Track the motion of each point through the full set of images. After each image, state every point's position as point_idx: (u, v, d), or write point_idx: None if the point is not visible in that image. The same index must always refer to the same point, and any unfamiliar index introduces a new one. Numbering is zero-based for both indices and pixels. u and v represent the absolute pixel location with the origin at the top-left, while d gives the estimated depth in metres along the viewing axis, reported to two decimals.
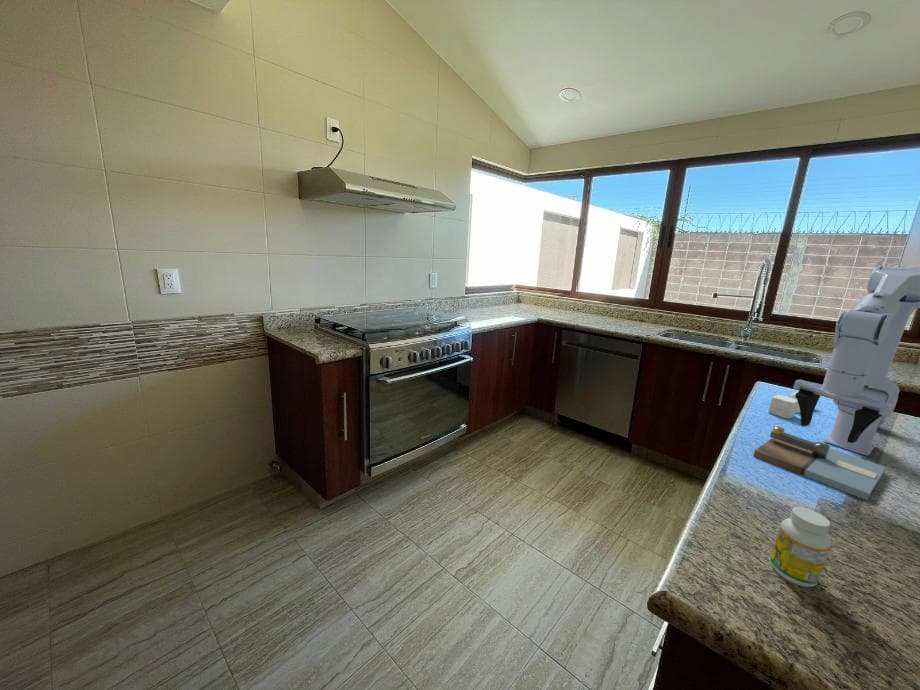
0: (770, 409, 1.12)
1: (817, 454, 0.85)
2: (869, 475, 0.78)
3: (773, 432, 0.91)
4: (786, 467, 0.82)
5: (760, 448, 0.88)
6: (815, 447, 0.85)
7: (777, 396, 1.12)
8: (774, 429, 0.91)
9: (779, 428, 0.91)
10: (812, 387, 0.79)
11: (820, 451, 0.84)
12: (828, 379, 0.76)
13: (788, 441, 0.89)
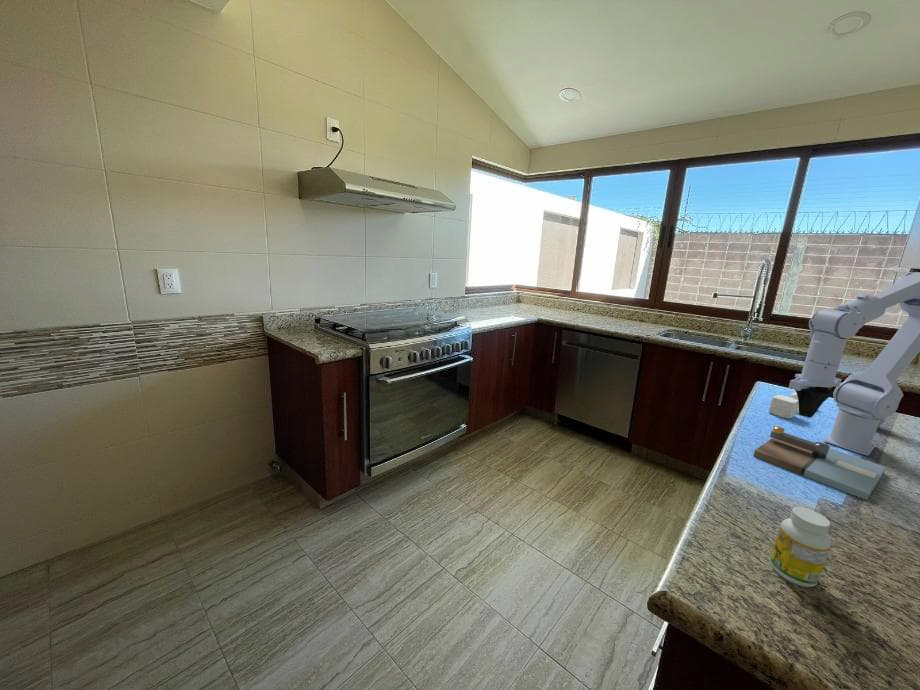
0: (770, 409, 1.12)
1: (817, 454, 0.85)
2: (869, 475, 0.78)
3: (773, 432, 0.91)
4: (786, 467, 0.82)
5: (760, 448, 0.88)
6: (815, 447, 0.85)
7: (777, 396, 1.12)
8: (774, 429, 0.91)
9: (779, 428, 0.91)
10: None
11: (820, 451, 0.84)
12: None
13: (788, 441, 0.89)
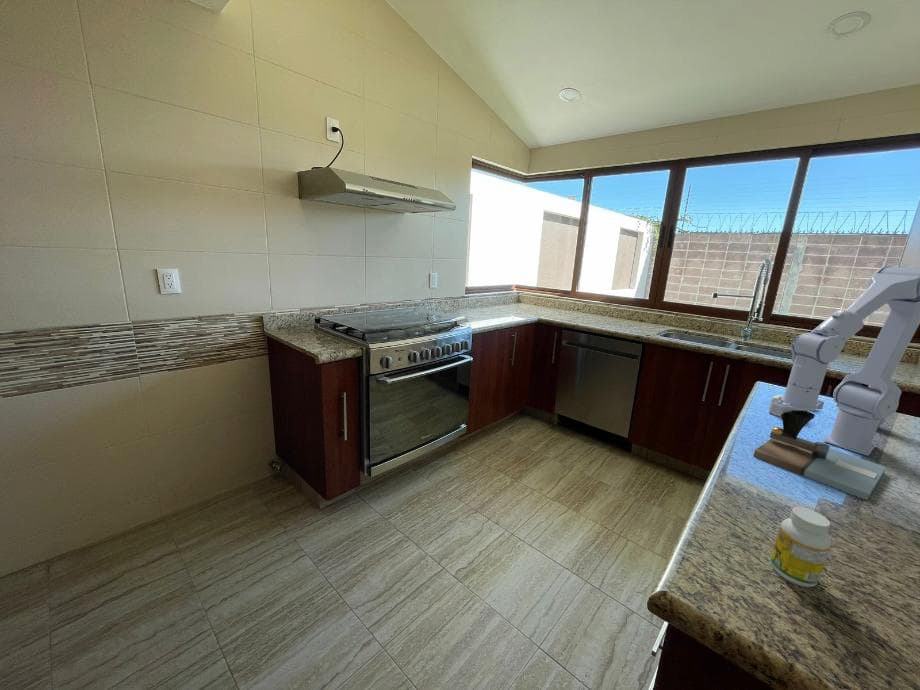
0: (770, 409, 1.12)
1: (817, 454, 0.84)
2: (869, 475, 0.78)
3: (772, 433, 0.91)
4: (786, 467, 0.82)
5: (760, 448, 0.88)
6: (815, 447, 0.85)
7: (777, 396, 1.12)
8: (774, 430, 0.91)
9: (778, 428, 0.90)
10: None
11: (820, 451, 0.84)
12: None
13: (788, 441, 0.89)
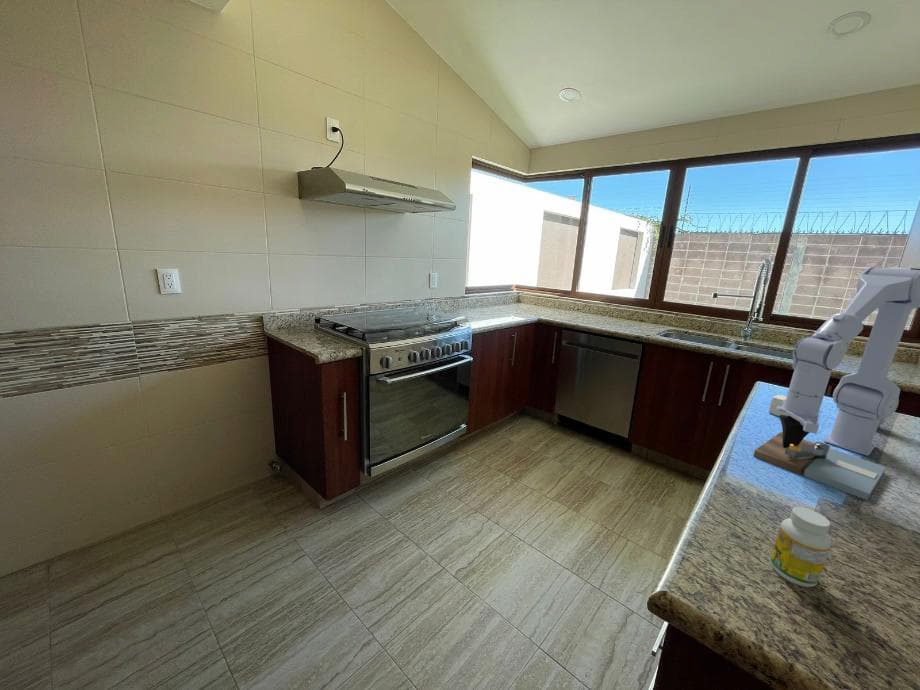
0: (770, 409, 1.12)
1: (825, 456, 0.84)
2: (869, 475, 0.78)
3: (797, 453, 0.82)
4: (786, 467, 0.82)
5: (760, 448, 0.88)
6: (822, 450, 0.84)
7: (777, 396, 1.12)
8: (797, 449, 0.82)
9: (796, 445, 0.83)
10: (783, 404, 0.87)
11: (827, 452, 0.84)
12: None
13: (806, 455, 0.83)
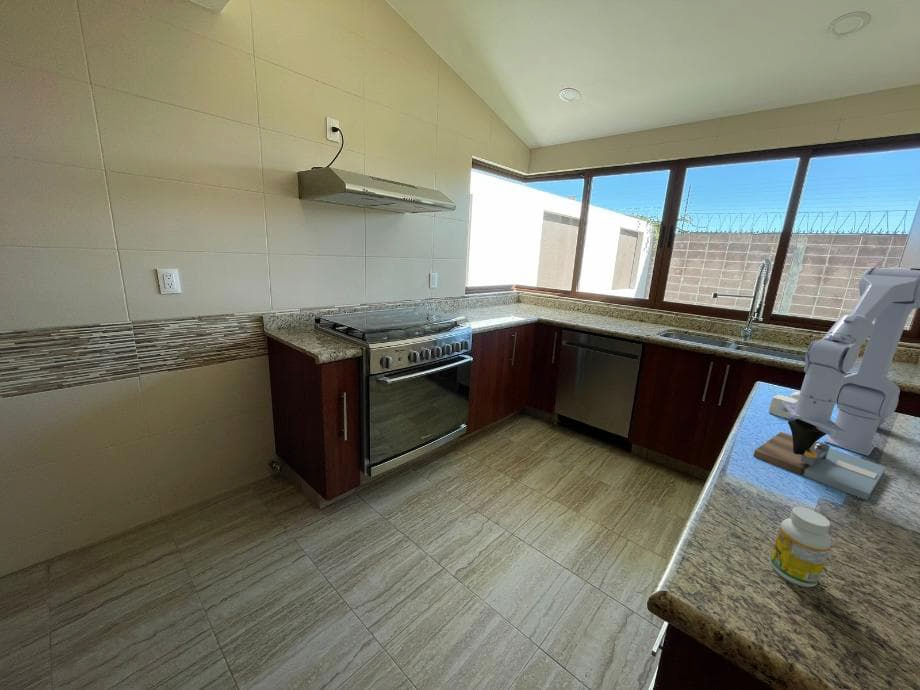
0: (770, 409, 1.12)
1: (826, 455, 0.84)
2: (869, 475, 0.78)
3: (814, 460, 0.79)
4: (786, 467, 0.82)
5: (760, 448, 0.88)
6: (824, 450, 0.84)
7: (777, 396, 1.12)
8: (814, 455, 0.79)
9: (812, 451, 0.80)
10: (788, 408, 0.85)
11: None
12: (797, 401, 0.82)
13: (818, 459, 0.81)
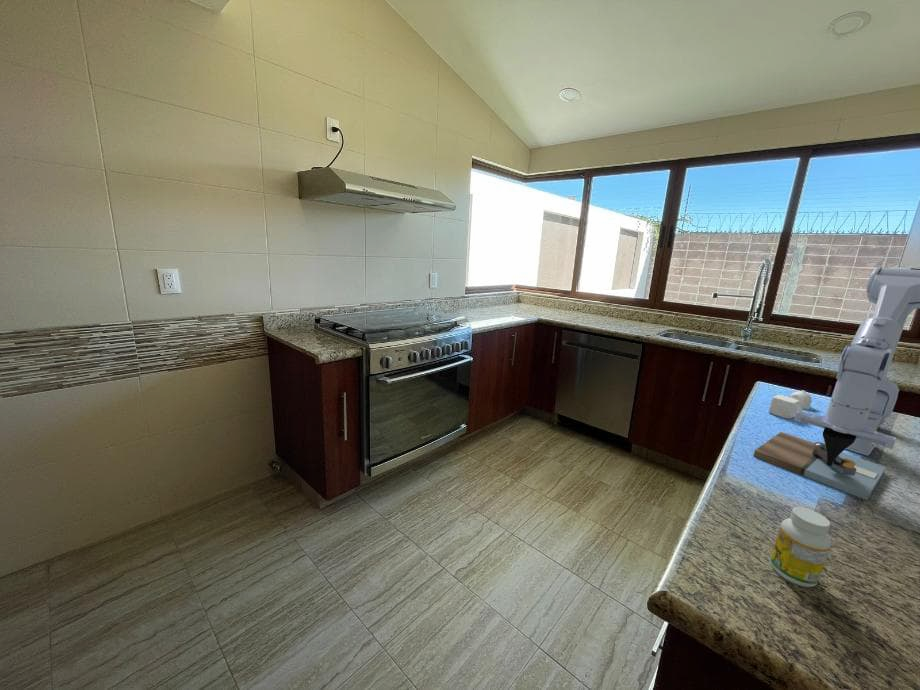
0: (770, 409, 1.12)
1: None
2: (869, 475, 0.78)
3: None
4: (786, 467, 0.82)
5: (760, 448, 0.88)
6: None
7: (777, 396, 1.12)
8: (854, 465, 0.76)
9: (848, 461, 0.77)
10: (816, 420, 0.79)
11: None
12: (833, 412, 0.76)
13: None
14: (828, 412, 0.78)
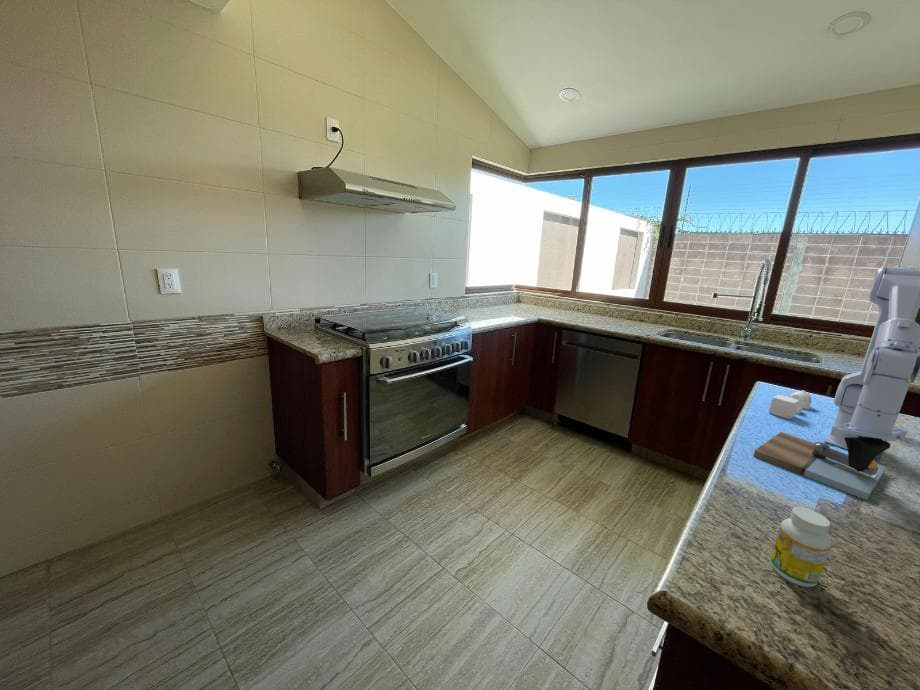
0: (770, 409, 1.12)
1: None
2: (869, 475, 0.78)
3: None
4: (786, 467, 0.82)
5: (760, 448, 0.88)
6: None
7: (777, 396, 1.12)
8: None
9: None
10: (863, 433, 0.74)
11: None
12: (879, 422, 0.73)
13: None
14: (869, 422, 0.74)
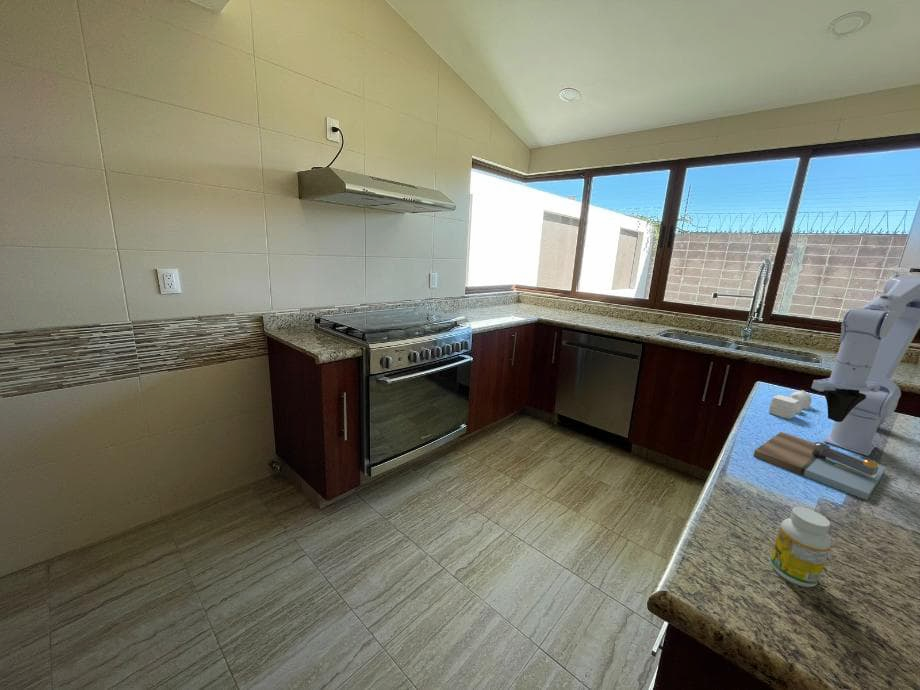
0: (770, 409, 1.12)
1: None
2: (869, 475, 0.78)
3: None
4: (786, 467, 0.82)
5: (760, 448, 0.88)
6: None
7: (777, 396, 1.12)
8: None
9: (870, 461, 0.77)
10: (840, 385, 0.82)
11: None
12: (855, 375, 0.81)
13: None
14: (846, 375, 0.82)
